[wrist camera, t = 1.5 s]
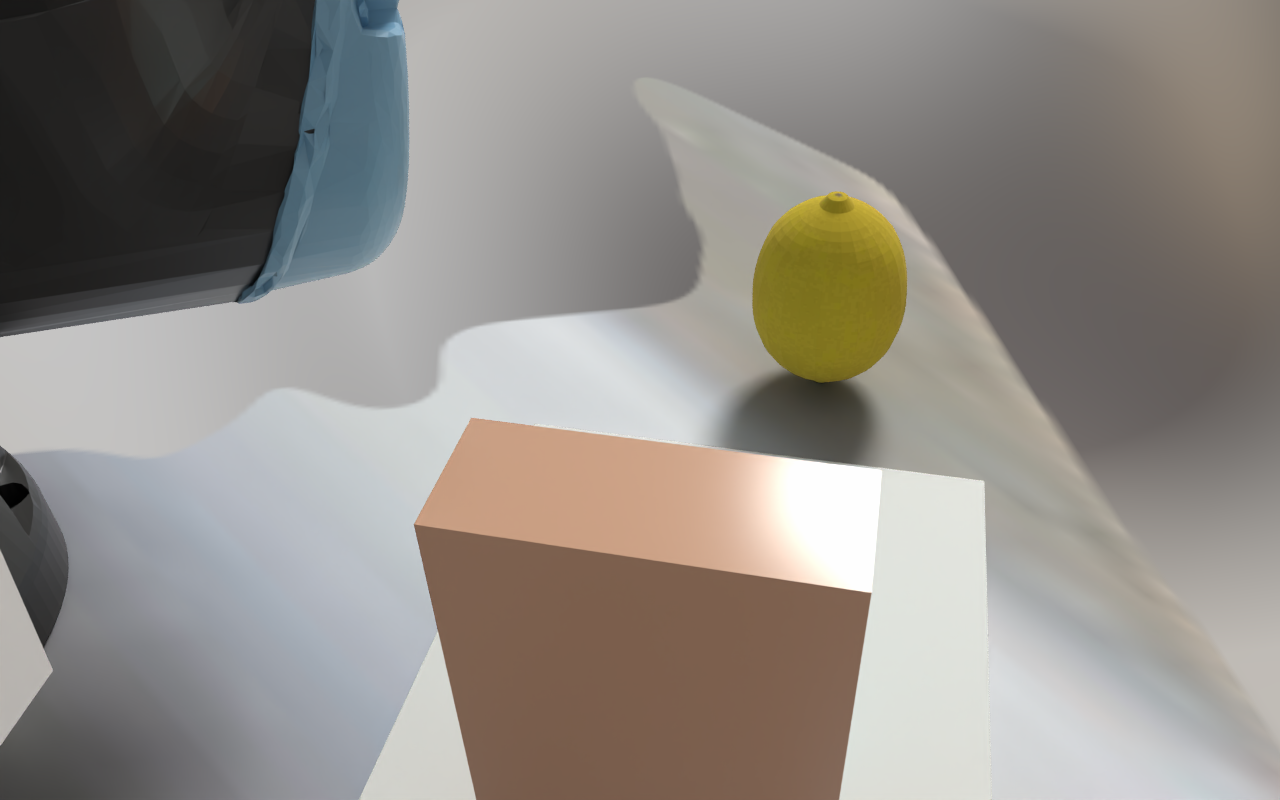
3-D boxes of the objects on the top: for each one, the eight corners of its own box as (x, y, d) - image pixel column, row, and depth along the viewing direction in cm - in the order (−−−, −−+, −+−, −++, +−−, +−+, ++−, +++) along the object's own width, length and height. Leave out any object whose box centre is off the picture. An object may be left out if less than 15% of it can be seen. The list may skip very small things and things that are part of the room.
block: (491, 867, 27) (413, 524, 19) (532, 749, 29) (478, 405, 22) (817, 936, 25) (871, 592, 18) (830, 804, 28) (883, 456, 20)
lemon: (911, 418, 40) (943, 228, 35) (763, 431, 40) (773, 241, 35) (871, 332, 44) (894, 152, 39) (737, 343, 44) (743, 163, 39)
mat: (318, 898, 27) (315, 892, 26) (535, 429, 40) (534, 423, 40) (994, 1050, 24) (997, 1044, 23) (982, 487, 37) (984, 481, 37)
